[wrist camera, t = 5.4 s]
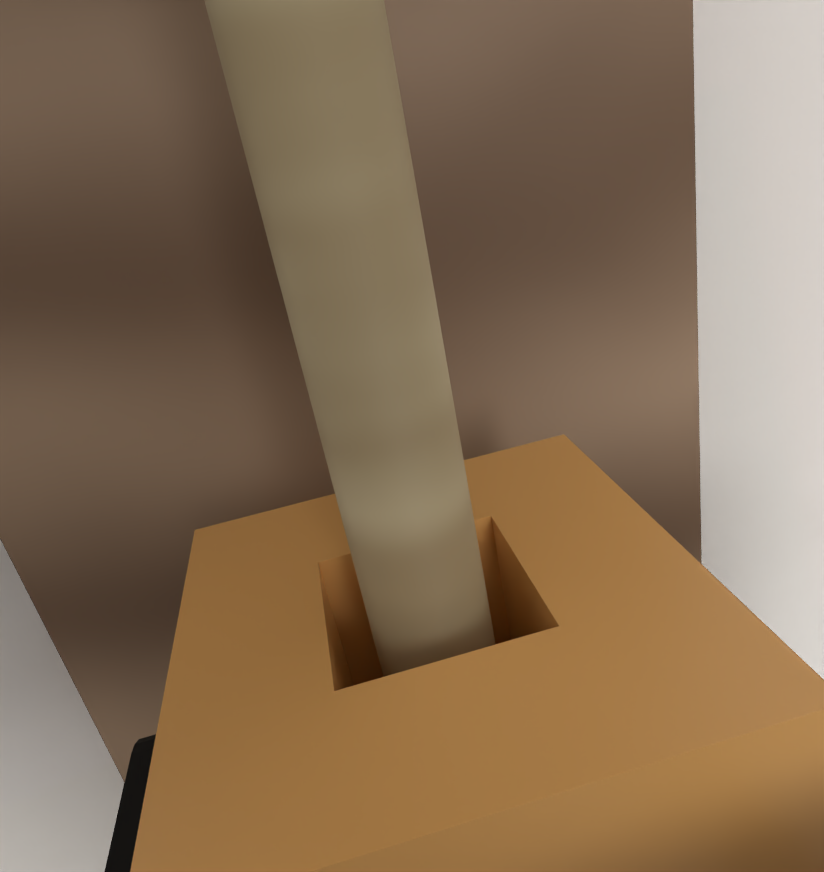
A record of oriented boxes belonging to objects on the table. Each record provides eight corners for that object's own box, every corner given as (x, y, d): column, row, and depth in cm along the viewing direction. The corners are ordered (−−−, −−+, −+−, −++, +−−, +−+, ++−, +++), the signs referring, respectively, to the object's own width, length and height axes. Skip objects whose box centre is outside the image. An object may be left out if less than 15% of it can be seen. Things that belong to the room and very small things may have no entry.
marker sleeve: (195, 530, 9) (118, 933, 4) (563, 433, 9) (846, 701, 5) (309, 839, 11) (338, 1304, 7) (596, 749, 12) (804, 1125, 7)
